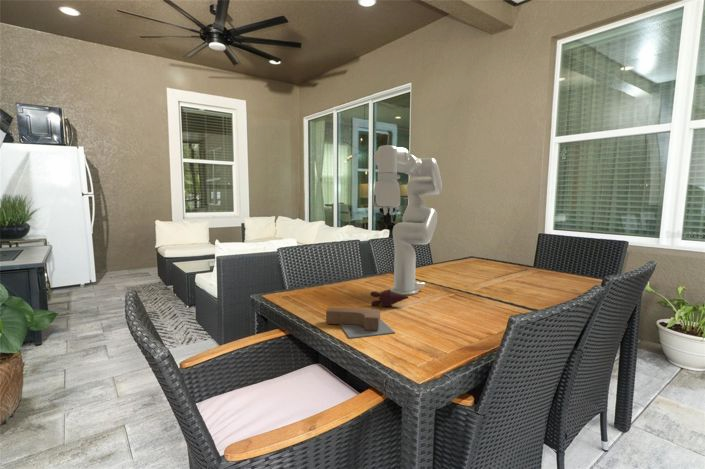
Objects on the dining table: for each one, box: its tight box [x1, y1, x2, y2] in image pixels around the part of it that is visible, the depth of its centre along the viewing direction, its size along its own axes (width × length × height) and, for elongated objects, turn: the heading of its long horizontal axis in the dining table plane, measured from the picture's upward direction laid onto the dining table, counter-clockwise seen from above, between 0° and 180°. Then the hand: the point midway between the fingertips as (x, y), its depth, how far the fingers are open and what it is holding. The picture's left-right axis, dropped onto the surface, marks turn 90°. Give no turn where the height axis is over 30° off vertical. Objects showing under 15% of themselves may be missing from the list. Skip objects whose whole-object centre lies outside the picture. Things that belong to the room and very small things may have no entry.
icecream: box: [370, 288, 409, 308], centre depth 141 cm, size 7×7×15 cm
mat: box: [338, 318, 396, 339], centre depth 120 cm, size 15×20×1 cm
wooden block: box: [325, 306, 381, 331], centre depth 119 cm, size 9×4×18 cm
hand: (386, 224), depth 141 cm, fingers closed
